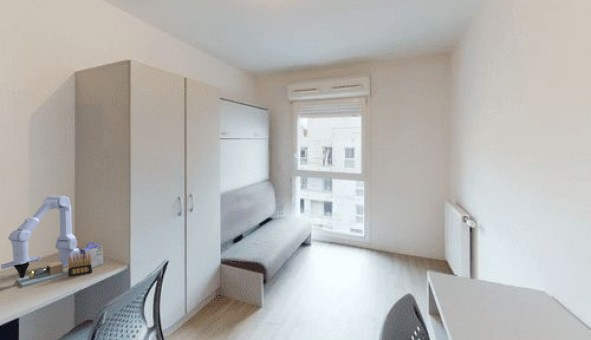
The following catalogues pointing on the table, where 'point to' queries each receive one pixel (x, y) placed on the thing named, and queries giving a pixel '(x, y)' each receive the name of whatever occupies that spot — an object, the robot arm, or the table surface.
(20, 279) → the mounting board
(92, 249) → the ink cartridge box
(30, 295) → the table surface
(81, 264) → the ammunition clip
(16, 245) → the robot arm
